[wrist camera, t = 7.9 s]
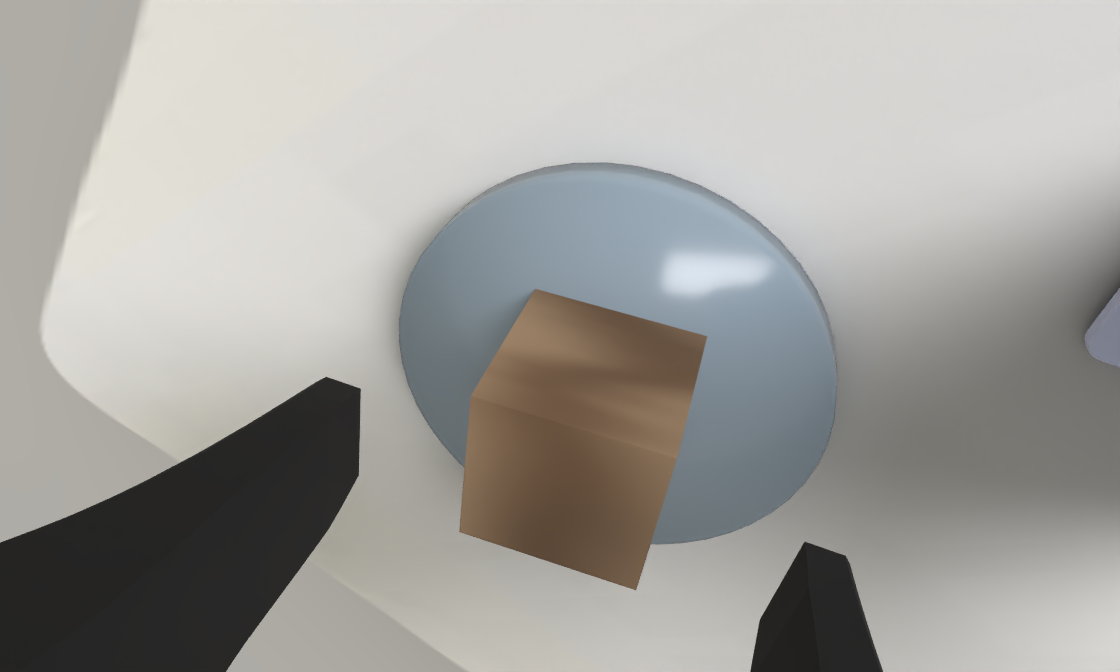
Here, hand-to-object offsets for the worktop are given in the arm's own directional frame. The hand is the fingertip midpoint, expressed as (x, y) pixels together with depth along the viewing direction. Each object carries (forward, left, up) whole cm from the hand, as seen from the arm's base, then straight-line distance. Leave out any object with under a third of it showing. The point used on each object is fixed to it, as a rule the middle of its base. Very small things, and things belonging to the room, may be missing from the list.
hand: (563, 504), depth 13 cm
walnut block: (0, +4, -8) cm, 9 cm away
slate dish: (0, +4, -9) cm, 10 cm away
